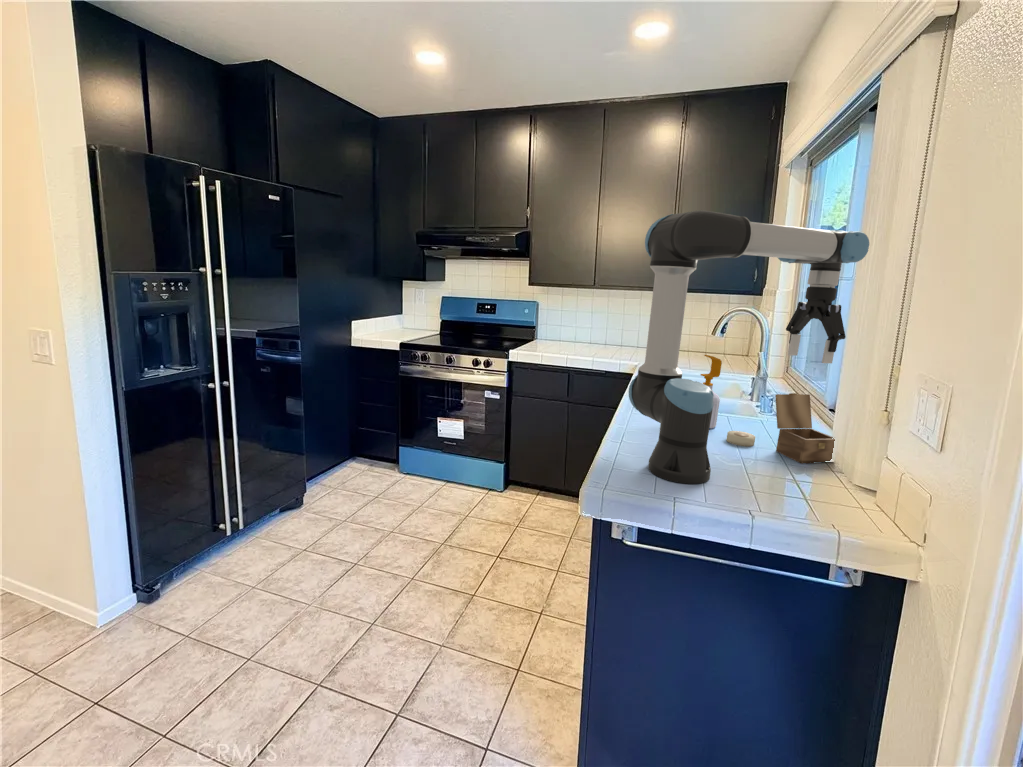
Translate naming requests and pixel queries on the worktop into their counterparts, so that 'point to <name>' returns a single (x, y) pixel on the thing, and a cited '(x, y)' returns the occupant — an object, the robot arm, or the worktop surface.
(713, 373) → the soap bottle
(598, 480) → the worktop surface
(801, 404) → the lid
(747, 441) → the domed cap
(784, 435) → the chest
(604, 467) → the worktop surface
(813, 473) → the worktop surface
